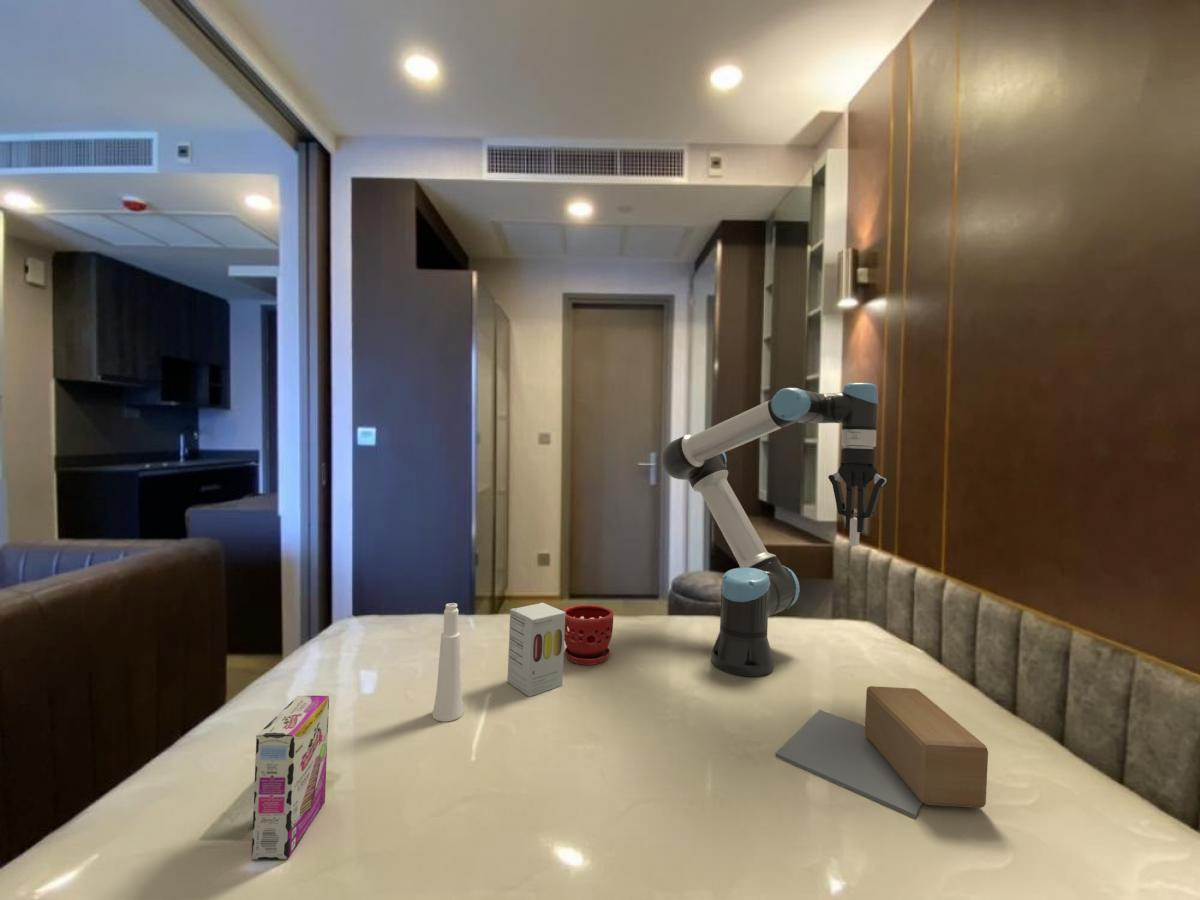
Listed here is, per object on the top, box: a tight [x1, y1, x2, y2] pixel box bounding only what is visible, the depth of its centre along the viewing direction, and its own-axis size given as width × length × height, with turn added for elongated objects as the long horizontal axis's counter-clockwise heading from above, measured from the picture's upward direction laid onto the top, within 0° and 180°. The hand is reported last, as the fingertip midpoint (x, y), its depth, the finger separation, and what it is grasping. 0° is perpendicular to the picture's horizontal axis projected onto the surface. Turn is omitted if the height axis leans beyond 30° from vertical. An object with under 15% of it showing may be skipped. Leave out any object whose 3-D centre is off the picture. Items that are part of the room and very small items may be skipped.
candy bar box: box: [250, 695, 330, 861], centre depth 73 cm, size 11×5×16 cm, turn 5°
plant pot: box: [562, 604, 614, 666], centre depth 135 cm, size 13×13×12 cm
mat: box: [774, 709, 923, 819], centre depth 95 cm, size 22×22×1 cm
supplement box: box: [506, 602, 565, 698], centre depth 119 cm, size 10×9×17 cm
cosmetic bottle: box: [432, 602, 465, 723], centre depth 105 cm, size 6×6×22 cm
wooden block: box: [864, 685, 989, 809], centre depth 91 cm, size 10×10×20 cm
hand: (854, 544), depth 127 cm, fingers closed
